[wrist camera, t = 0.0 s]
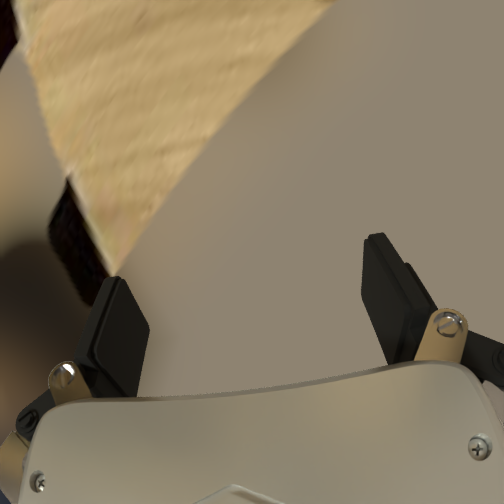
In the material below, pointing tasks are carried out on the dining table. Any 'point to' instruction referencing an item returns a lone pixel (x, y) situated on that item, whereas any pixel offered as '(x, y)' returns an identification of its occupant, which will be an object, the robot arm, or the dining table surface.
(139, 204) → the dining table surface
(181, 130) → the dining table surface
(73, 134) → the dining table surface
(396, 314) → the robot arm
